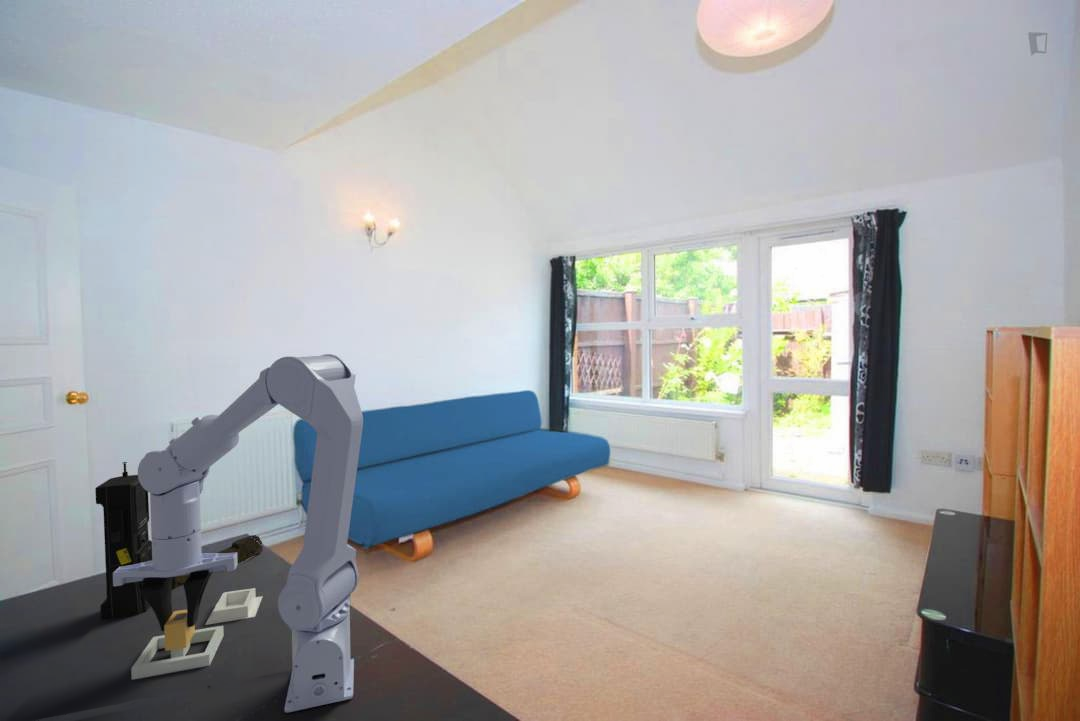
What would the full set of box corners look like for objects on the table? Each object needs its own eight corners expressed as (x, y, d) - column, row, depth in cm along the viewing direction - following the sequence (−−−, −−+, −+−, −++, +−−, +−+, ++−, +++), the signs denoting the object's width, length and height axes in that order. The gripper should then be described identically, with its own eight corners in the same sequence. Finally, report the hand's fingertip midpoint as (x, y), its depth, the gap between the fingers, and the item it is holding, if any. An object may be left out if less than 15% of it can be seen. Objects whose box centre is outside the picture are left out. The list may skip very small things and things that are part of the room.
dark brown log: (172, 595, 92) (171, 570, 92) (160, 590, 94) (159, 565, 94) (270, 556, 109) (270, 534, 109) (258, 552, 111) (258, 531, 111)
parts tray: (209, 670, 71) (209, 654, 71) (131, 685, 68) (131, 668, 68) (223, 640, 78) (223, 625, 78) (153, 651, 75) (153, 636, 75)
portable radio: (143, 621, 83) (137, 470, 82) (97, 628, 81) (91, 474, 80) (158, 598, 91) (154, 459, 90) (117, 604, 89) (111, 462, 87)
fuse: (186, 659, 72) (185, 621, 71) (165, 663, 71) (164, 624, 71) (195, 644, 75) (194, 607, 75) (175, 647, 75) (174, 610, 74)
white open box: (254, 621, 83) (254, 605, 83) (205, 629, 81) (204, 613, 81) (262, 600, 90) (262, 586, 90) (217, 607, 88) (216, 592, 87)
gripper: (241, 516, 78) (243, 602, 79) (127, 528, 74) (130, 619, 74) (229, 533, 72) (232, 627, 72) (103, 547, 67) (107, 647, 68)
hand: (179, 625), depth 73 cm, fingers closed on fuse, 2 cm apart
